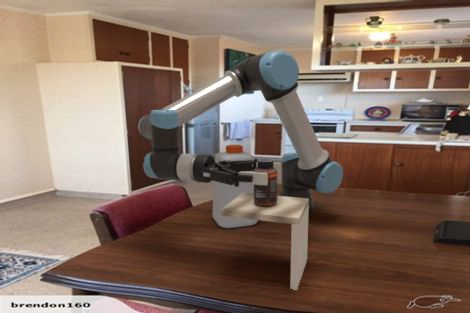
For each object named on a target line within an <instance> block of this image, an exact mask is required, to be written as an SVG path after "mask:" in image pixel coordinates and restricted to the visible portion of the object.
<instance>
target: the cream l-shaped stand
mask: <svg viewBox="0 0 470 313" xmlns="http://www.w3.org/2000/svg"><path fill="white" fill-rule="evenodd" d="M308 212H309V199H307V198H297V197H286V196H279V195H277V203H276V204H275V205H273V206H259V205H256V204H255V203H254V194H253V193H241V194H240V195H239V196H237V197H236V198H235V199H234V200H232V201H231V202H230V203H229V204H227V205H226V206H225V207H224V208H222V209H221V216H229V217H237V218H246V219H254V220H258V221H264V222H272V223H279V224H287V225H291V230H290V232H291V239H290V240H291V242H290V279H289V280H290V283H289V284H290V286H289V287H290V288H289V289H293V290H292V291H295V290H297V291H298V290H299V287H298V286H300V284H301V281H300V280H302V277H303V273H304V270H305V267H306V265H307V261H308V243H309V242H308V240H309V239H308V237H309V213H310V212H309V213H308ZM299 283H300V284H299Z"/></svg>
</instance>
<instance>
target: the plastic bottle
mask: <svg viewBox="0 0 470 313" xmlns="http://www.w3.org/2000/svg"><path fill="white" fill-rule="evenodd" d="M243 147H244V146H243V145H242V144H228V145H226V146H225V151H220V152H218V153H216V154H215V158H214V160H215V162H216V163H219V161H224V160H225V161H244V160H255V157H254V155H253V154H251V153H249V152H246V151H244V148H243ZM252 167H253V164H252ZM246 172H254V171H246ZM238 173H239V175H240V172H238ZM213 182H214V183H213V195H212V196H213V198H212V218H213V220H214V221H215V222H216V224H217V225H218V227H220V228H224V229H234V228H242V227H250V226H254V225H256V224H257V223H258V222H259V220H254V219H246V218H237V217H229V216H221V209H222V208H224V207H225V206H226V205H227V204H229V203H230V202H231V201H232V200H234V199H235V198H236V197H237V196H239V195H240V194H241V193H253V194H254V184H243V183H240V182H239V186H238V187H235V186H234V185H228V184H224V183H220V182H216V181H213Z"/></svg>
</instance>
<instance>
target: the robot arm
mask: <svg viewBox="0 0 470 313" xmlns="http://www.w3.org/2000/svg"><path fill="white" fill-rule="evenodd" d="M299 67H300V66H299V64H298V62H297V60H296V58H295V57H294V56H293V55H292V54H291V53H289V52H288V51H284V50H270V51H268V52H264V53H260V54H257V55H253V56H249V57H248V58H246V59H244V60H243V61H241V62H240V63H238V64H236V65H234V66H233V67H232V68H230V69H228V70H226V71H225V72H224V74H223V76H222V77H219V78H218V79H216V80H213V81H212V82H210V83H208V84H206V85H204V86H203V87H200V88H199V89H197V90H195V91H193V92H192V93H189V94H188V95H186V96H183V97H181V98H180V99H178V100H176V101H174V102H172V103H171V104H169V105H167V106H165V107H162V108H161V109H153V110H150V113H149V114H146V115H144V116H142V117H141V118H140V119H139V121H138V125H137V129H138V132H139V133H140V135H141V136H142V137H143V138H145V139H146V140H150V142H151V151H150V152H148V153H147V154H145V156H144V161H143V163H142V168H143V171H144V174H145V175H146V176H147V177H149V178H152V179H158V180H167V181H168V180H169V181H184V182H186V183H187V184H190V183H191V182H196V183H204V184H206V183H207V184H210V183H211V182H212V181H213V182H214V181H216V182H220V183H224V184H228V185H234V186H235V187H238V186H239V182H240V183H243V184H256V185H268V173H257V172H246V171H254V170H255V169H256V168H257V166H258V165H257V164H258V160H259V159H258V158H254V160H244V161H225V160H224V161H219V163H216V162H215V158H214V156H212V155H211V154H197V153H180V128H181V127H182V126H183V125H185V124H187V123H188V122H190V121H192V120H194V119H196V118H197V117H199V116H201V115H203V114H205V113H206V112H208V111H210V110H212V109H213V108H215V107H217V106H218V105H220V104H222V103H225V102H226V101H228V100H230V99H231V98H233V97H237V98H239V97H241V96H242V95H245V94H248V93H251V92H258V91H259V92H261V94H262V96H263V98H264V100H265V102H267V103H271V104H272V105H273V107H274V109H275V112H276V114H277V116H278V118H279V120H280V123H281V124H282V126H283V128H284V130H285V133H286V134H287V136H288V138H289V141H290V143H291V145H292V146H293V149H294V151H295V152H287V153H284V154H283V155H282V157H281V158H282V159H281V162H273V164H274V165H273V167H274V168H275V169H276V170H277V174H281V190H280V193H279V195H278V196H286V197H297V198H307V199H309V212H308V214H309V213H312V212H314V210H315V201H314V197H313V195H312V191H311V190H313V191H315V192H318V193H323V194H330V193H331V194H332V193H333V192H335V191H336V190H337V189H338V188H339V187H340V185H341V183H342V180H343V178H344V177H343V176H344V171H343V170H344V169H343V166H342V165H341V164H340V163H338V162H337V161H333V160H332V158H331V155H330V154H329V151H328V150H326V149H324V148H322V146H321V144H320V141H319V140H318V138H317V135H316V132H315V131H314V128H313V126H312V123H311V122H310V120H309V118H308V114H307V113H306V111H305V108H304V106H303V104H302V101H301V100H300V97H299V95H298V92H297V90H298V87H299V83H298V80H299V73H300V68H299ZM252 164H253V167H252ZM238 172H240V175H239V173H238Z"/></svg>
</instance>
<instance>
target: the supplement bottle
mask: <svg viewBox="0 0 470 313" xmlns="http://www.w3.org/2000/svg"><path fill="white" fill-rule="evenodd" d="M273 163H274V159H272V158H271V159H270V158H262V159H261V158H260V159H258V164H257V165H258V166H257V168H256V169H255V170H254V172H257V173H268V185H256V184H254V203H255V204H256V205H259V206H273V205H275V204H276V203H277V196H278V173H277V170H276V169H275V168H274V167H273V165H274V164H273Z"/></svg>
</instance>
